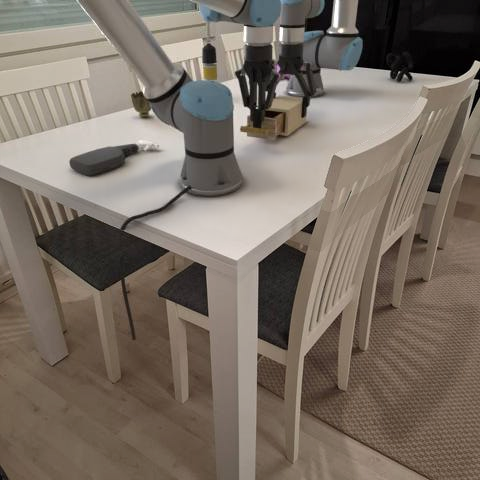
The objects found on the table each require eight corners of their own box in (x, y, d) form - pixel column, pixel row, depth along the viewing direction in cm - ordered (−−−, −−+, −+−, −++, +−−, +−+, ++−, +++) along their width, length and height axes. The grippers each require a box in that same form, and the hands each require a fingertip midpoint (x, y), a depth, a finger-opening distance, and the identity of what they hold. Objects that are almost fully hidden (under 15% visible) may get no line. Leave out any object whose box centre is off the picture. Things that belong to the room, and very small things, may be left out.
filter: (220, 99, 177) (217, 15, 161) (206, 100, 176) (202, 16, 160) (215, 96, 182) (212, 14, 166) (202, 97, 180) (197, 14, 164)
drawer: (266, 145, 125) (267, 124, 122) (238, 141, 128) (238, 120, 125) (294, 126, 143) (295, 107, 140) (268, 123, 146) (269, 104, 143)
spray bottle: (67, 168, 120) (139, 144, 136) (91, 178, 114) (163, 151, 130) (65, 157, 118) (137, 134, 134) (89, 167, 112) (162, 142, 128)
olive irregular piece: (129, 117, 158) (125, 94, 154) (142, 112, 164) (139, 90, 159) (146, 120, 155) (143, 97, 151) (158, 114, 161) (156, 92, 156)
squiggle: (400, 92, 202) (376, 71, 205) (417, 76, 202) (392, 56, 205) (405, 81, 191) (380, 59, 194) (423, 64, 191) (397, 42, 194)
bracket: (280, 80, 204) (280, 64, 200) (270, 78, 207) (270, 62, 203) (295, 74, 213) (295, 59, 209) (285, 73, 216) (285, 58, 212)
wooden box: (287, 136, 137) (288, 109, 133) (257, 131, 141) (257, 106, 137) (306, 122, 151) (308, 98, 147) (278, 118, 155) (279, 95, 151)
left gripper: (287, 43, 116) (283, 131, 128) (241, 40, 121) (242, 126, 133) (276, 47, 110) (273, 139, 123) (229, 44, 115) (231, 133, 127)
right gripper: (331, 42, 135) (324, 115, 147) (262, 39, 144) (261, 108, 155) (323, 46, 129) (317, 121, 141) (252, 42, 138) (252, 113, 149)
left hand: (257, 132), depth 128 cm, fingers closed
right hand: (288, 114), depth 148 cm, fingers closed on wooden box, 10 cm apart
